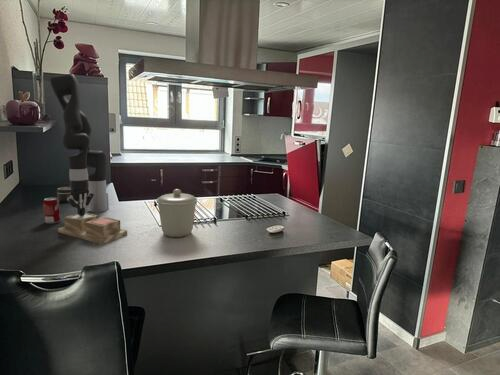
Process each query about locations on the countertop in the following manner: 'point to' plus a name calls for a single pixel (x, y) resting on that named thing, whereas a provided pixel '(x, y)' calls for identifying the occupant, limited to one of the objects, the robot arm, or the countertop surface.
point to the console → (92, 229)
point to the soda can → (51, 210)
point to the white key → (81, 216)
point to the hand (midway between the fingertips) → (81, 215)
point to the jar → (63, 194)
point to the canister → (177, 213)
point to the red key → (102, 221)
